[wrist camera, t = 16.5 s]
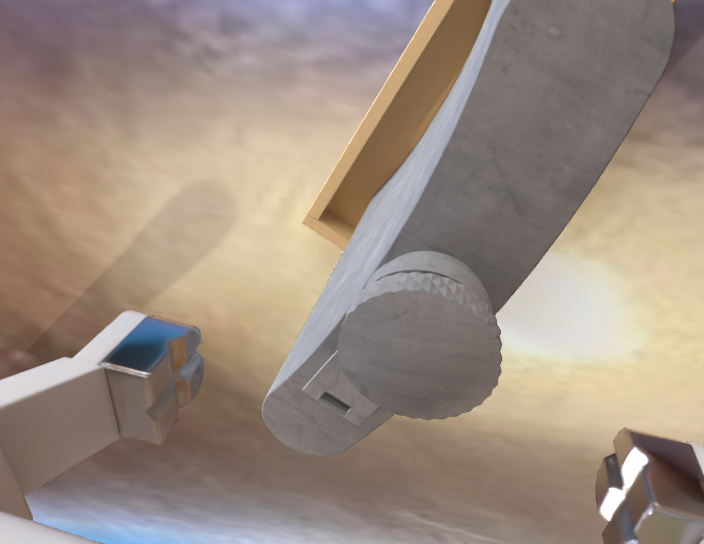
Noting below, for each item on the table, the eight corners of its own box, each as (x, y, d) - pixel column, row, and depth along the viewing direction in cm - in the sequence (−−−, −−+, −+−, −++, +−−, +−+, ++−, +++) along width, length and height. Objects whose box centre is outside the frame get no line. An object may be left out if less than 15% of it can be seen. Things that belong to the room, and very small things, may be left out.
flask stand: (421, 278, 34) (417, 298, 32) (312, 207, 33) (300, 223, 31) (676, -21, 23) (693, -20, 21) (521, -138, 22) (523, -148, 20)
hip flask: (521, -57, 23) (583, -105, 6) (597, -9, 23) (846, 62, 7) (362, 214, 32) (214, 488, 15) (418, 247, 32) (332, 552, 15)
